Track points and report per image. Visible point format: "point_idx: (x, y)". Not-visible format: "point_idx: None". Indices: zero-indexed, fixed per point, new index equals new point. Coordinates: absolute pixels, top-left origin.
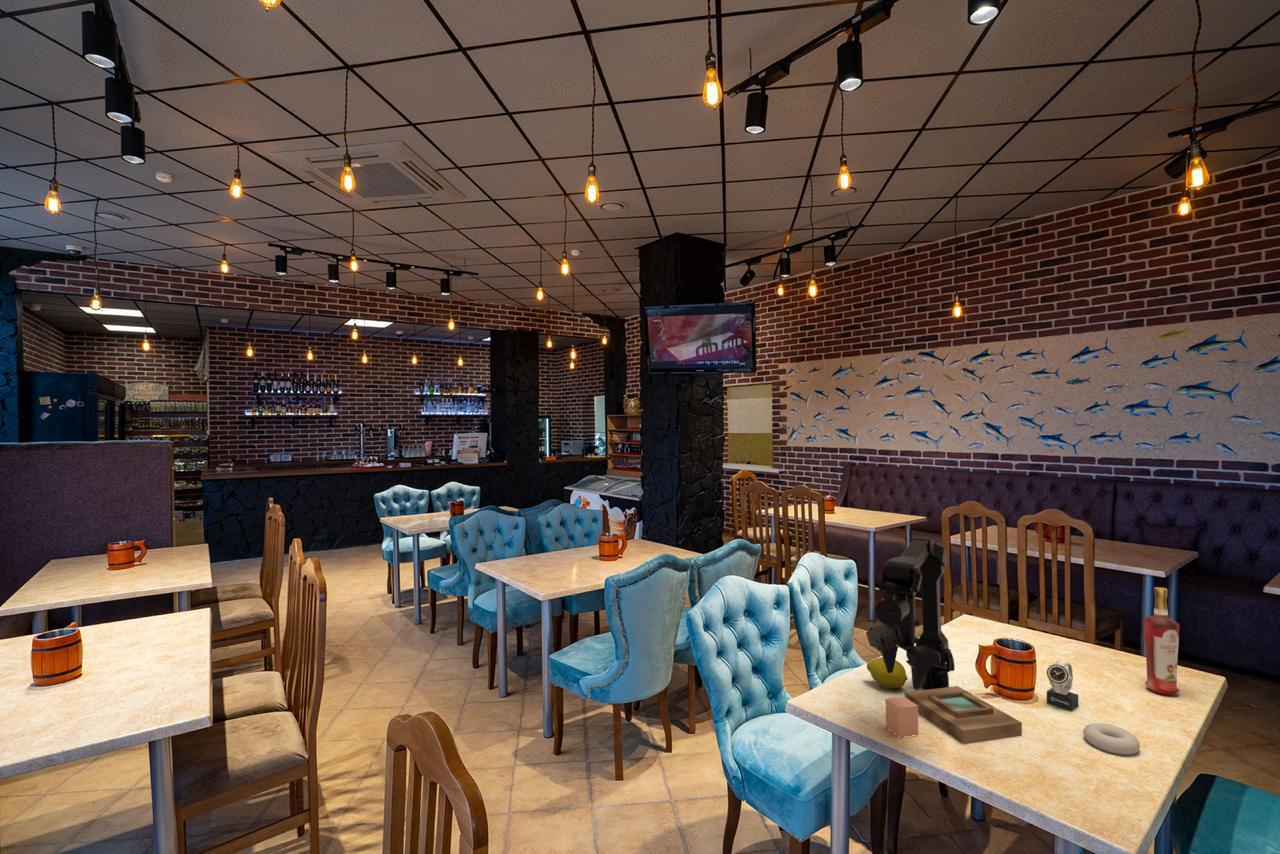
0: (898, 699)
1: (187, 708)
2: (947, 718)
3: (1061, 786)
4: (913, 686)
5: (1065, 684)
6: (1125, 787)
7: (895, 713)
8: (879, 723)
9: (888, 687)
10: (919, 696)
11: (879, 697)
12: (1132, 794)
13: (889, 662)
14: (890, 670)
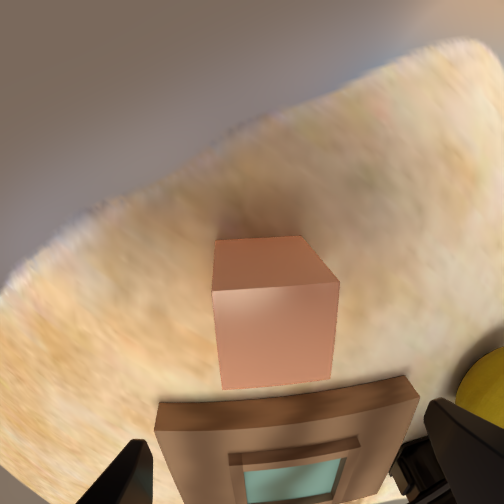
0: (310, 342)
1: None
2: (233, 434)
3: (20, 433)
4: (131, 449)
5: None
6: (44, 485)
7: (244, 271)
8: (335, 230)
9: (472, 367)
10: (382, 423)
11: (459, 323)
12: (29, 478)
13: (467, 457)
14: (435, 421)
